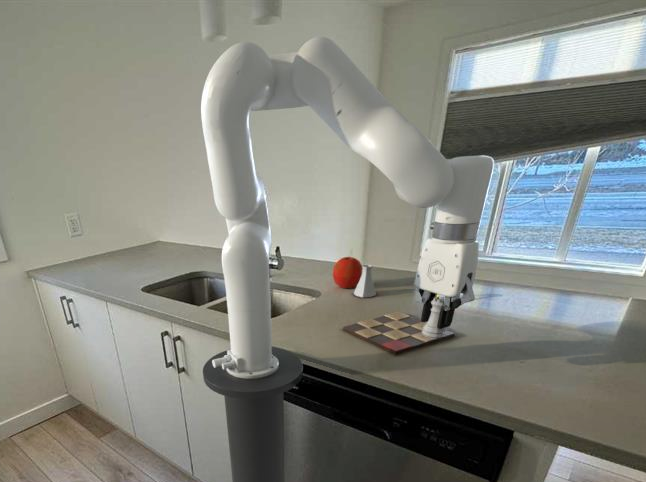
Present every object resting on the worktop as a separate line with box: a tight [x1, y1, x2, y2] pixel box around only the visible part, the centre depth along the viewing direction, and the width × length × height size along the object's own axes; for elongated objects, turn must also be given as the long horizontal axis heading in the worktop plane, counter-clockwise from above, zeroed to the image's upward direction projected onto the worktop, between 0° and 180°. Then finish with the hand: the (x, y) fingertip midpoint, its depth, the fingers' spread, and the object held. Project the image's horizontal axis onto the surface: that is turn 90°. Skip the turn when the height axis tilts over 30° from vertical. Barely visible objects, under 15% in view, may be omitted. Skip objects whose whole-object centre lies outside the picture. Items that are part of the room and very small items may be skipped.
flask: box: [353, 264, 377, 298], centre depth 138 cm, size 7×7×10 cm
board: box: [342, 311, 456, 356], centre depth 110 cm, size 20×20×1 cm
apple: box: [332, 255, 363, 289], centre depth 147 cm, size 10×10×12 cm
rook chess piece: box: [422, 296, 447, 339], centre depth 83 cm, size 4×4×8 cm
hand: (435, 323), depth 84 cm, fingers closed on rook chess piece, 3 cm apart
